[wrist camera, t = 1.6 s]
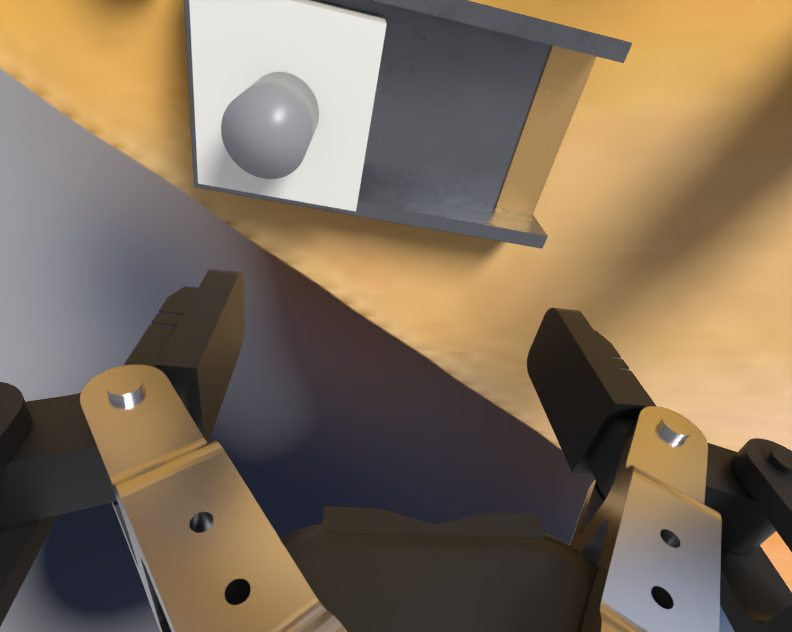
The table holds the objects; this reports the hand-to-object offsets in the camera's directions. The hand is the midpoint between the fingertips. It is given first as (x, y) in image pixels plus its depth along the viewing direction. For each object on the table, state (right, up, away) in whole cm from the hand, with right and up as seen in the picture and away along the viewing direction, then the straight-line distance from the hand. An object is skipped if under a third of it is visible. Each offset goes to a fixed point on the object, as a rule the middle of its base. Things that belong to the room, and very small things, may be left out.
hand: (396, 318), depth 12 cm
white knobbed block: (-6, +15, +17) cm, 24 cm away
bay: (0, +15, +19) cm, 24 cm away
